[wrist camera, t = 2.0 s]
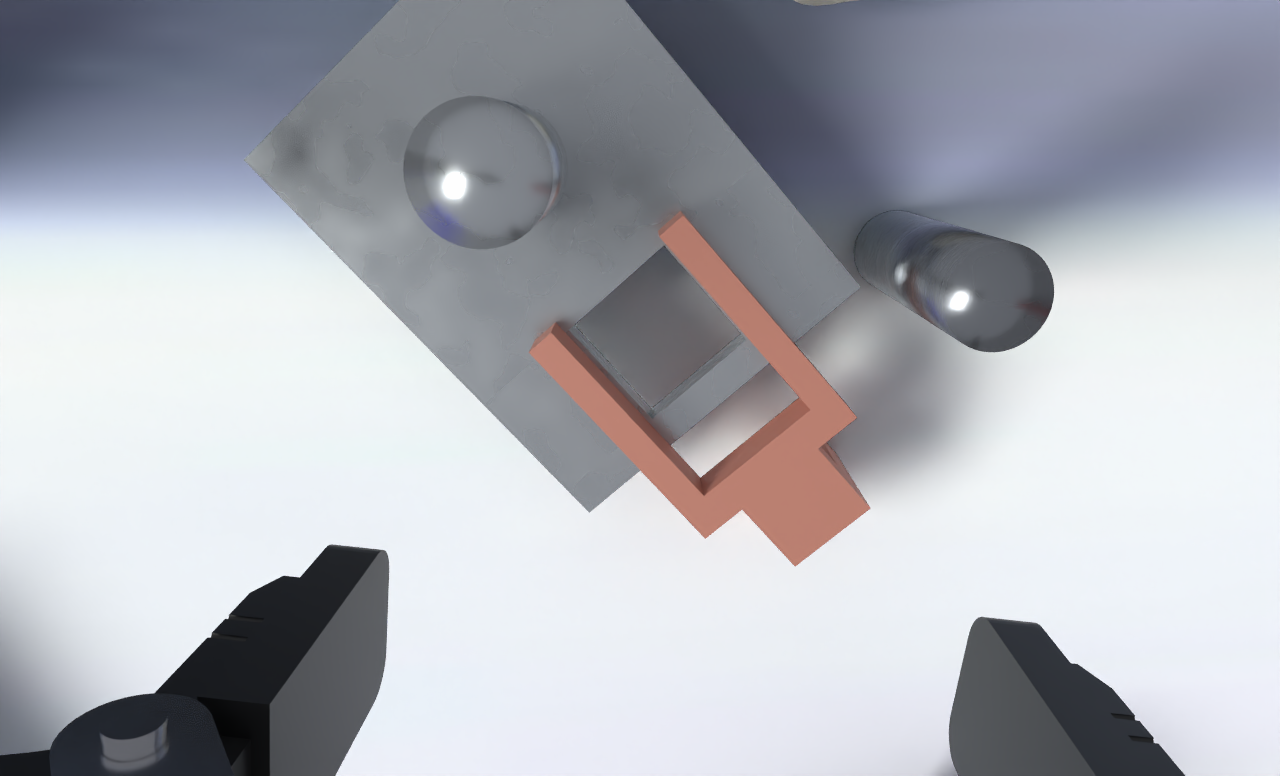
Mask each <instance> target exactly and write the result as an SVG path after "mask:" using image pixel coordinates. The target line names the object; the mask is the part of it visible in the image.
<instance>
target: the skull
mask: <svg viewBox="0 0 1280 776" xmlns="http://www.w3.org/2000/svg"><path fill="white" fill-rule="evenodd" d="M794 1H796V2H798V3H800V4H804V5H813V6H820V5H831V4H837V3H842V2H848V1H858V0H794Z"/></svg>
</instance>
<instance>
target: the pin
mask: <svg viewBox="0 0 1280 776" xmlns="http://www.w3.org/2000/svg"><path fill="white" fill-rule="evenodd" d="M854 259H855V264H856V267H857V269H858V271H859V273H860V274H861V276H862V277H863V278H864V279H865V280H866V281H867V282H868V283H869V284H871V285H873V286H874V287H876V288H877V289H879V290H880V291H882V292H883V293H885V294H887V295H888V296H890V297H891V298H893V299H894V300H896V301H897V302H899V303H901V304H902V305H904V306H905V307H907V308H908V309H910V310H911V311H913V312H915V313H916V314H918V315H919V316H921V317H922V318H924V319H925V320H927V321H929V322H930V323H932V324H933V325H935V326H936V327H938V328H940V329H941V330H943V331H944V332H946V333H947V334H949V335H950V336H952V337H954V338H955V339H957V340H958V341H960V342H961V343H963V344H965V345H966V346H968V347H970V348H973V349H975V350H979V351H984V352H1000V351H1005V350H1009V349H1012V348H1015V347H1017V346H1019V345H1021V344H1023V343H1024V342H1026V341H1027V340H1029V339H1030V338H1031V337H1032V336H1033V335H1035V334H1036V333H1037V331H1038V330H1039V329H1040V328H1041V327H1042V325H1043V324H1044V322H1045V321H1046V319H1047V317H1048V315H1049V313H1050V310H1051V307H1052V303H1053V298H1054V284H1053V279H1052V275H1051V272H1050V270H1049V268H1048V266H1047V265H1046V263H1045V261H1044V260H1043V259H1042V258H1041V257H1040V256H1039V255H1038V254H1037V253H1036V252H1034V251H1033V250H1031V249H1030V248H1028V247H1025V246H1023V245H1020V244H1017V243H1013V242H1010V241H1006V240H1003V239H1000V238H996V237H993V236H989V235H986V234H982V233H979V232H975V231H972V230H968V229H965V228H962V227H958V226H955V225H951V224H948V223H944V222H941V221H937V220H934V219H930V218H927V217H923V216H920V215H917V214H913V213H910V212H906V211H900V210H894V211H888V212H884V213H881V214H879V215H877V216H875V217H874V218H872V219H871V220H870V221H869V222H868V223H866V224H865V226H864V227H863V228H862V230H861V231H860V233H859V235H858V237H857V239H856V242H855V247H854Z"/></svg>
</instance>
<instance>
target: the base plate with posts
mask: <svg viewBox="0 0 1280 776" xmlns="http://www.w3.org/2000/svg"><path fill="white" fill-rule="evenodd" d="M244 161H245V162H246V163H247V164H248V165H249V166H250V167H251V168H252V169H253V170H254V171H255V172H256V173H257V174H258V175H259V176H260V177H261V178H262V179H263V180H264V181H265V182H266V183H267V184H268V185H269V186H270V187H271V188H272V189H273V190H274V191H275V192H276V193H277V194H278V195H279V196H280V198H281V199H282V200H283V201H284V202H285V203H286V204H287V205H288V206H289V207H290V208H291V209H292V210H293V211H294V212H295V213H296V214H297V215H298V216H299V217H300V218H301V219H302V220H303V221H304V222H305V223H306V224H307V225H308V226H309V227H310V228H311V229H312V230H313V231H314V232H315V233H316V234H317V235H318V236H319V237H320V238H321V239H322V240H323V241H324V242H325V243H326V244H327V245H328V246H329V247H330V249H331V250H332V251H333V252H334V253H335V254H336V255H337V256H338V257H339V258H340V259H341V260H342V261H343V262H344V263H345V264H346V265H347V266H348V267H349V268H350V269H351V270H352V271H353V272H354V273H355V274H356V275H357V276H358V277H359V278H360V279H361V280H362V281H363V282H364V283H365V284H366V285H367V286H368V287H369V288H370V289H371V290H372V291H373V292H374V293H375V294H376V295H377V296H378V297H379V299H380V300H381V301H382V302H383V303H384V304H385V305H386V306H387V307H388V308H389V309H390V310H391V311H392V312H393V313H394V314H395V315H396V316H397V317H398V318H399V319H400V320H401V321H402V322H403V323H404V324H405V325H406V326H407V327H408V328H409V329H410V330H411V331H412V332H413V333H414V334H415V335H416V336H417V337H418V338H419V339H420V340H421V341H422V342H423V343H424V344H425V345H426V346H427V347H428V348H429V350H430V351H431V352H432V353H433V354H434V355H435V356H436V357H437V358H438V359H439V360H440V361H441V362H442V363H443V364H444V365H445V366H446V367H447V368H448V369H449V370H450V371H451V372H452V373H453V374H454V375H455V376H456V377H457V378H458V379H459V380H460V381H461V382H462V383H463V384H464V385H465V386H466V387H467V388H468V389H469V390H470V391H471V392H472V393H473V394H474V395H475V396H476V397H477V398H478V399H479V401H480V402H481V403H482V404H483V405H484V406H485V407H486V408H487V409H488V410H489V411H490V412H491V413H492V414H493V415H494V416H495V417H496V418H497V419H498V420H499V421H500V422H501V423H502V424H503V425H504V426H505V427H506V428H507V429H508V430H509V431H510V432H511V433H512V434H513V435H514V436H515V437H516V438H517V439H518V440H519V441H520V442H521V443H522V444H523V445H524V446H525V447H526V448H527V449H528V450H529V452H530V453H531V454H532V455H533V456H534V457H535V458H536V459H537V460H538V461H539V462H540V463H541V464H542V465H543V466H544V467H545V468H546V469H547V470H548V471H549V472H550V473H551V474H552V475H553V476H554V477H555V478H556V479H557V480H558V481H559V482H560V483H561V484H562V485H563V486H564V487H565V488H566V489H567V490H568V491H569V492H570V493H571V494H572V495H573V496H574V497H575V498H576V499H577V500H578V501H579V503H580V504H581V505H582V506H583V507H584V508H585V509H586V510H587V511H588V512H591V511H592V510H593V509H594V508H595V507H597V506H598V505H599V504H600V503H601V502H603V501H604V500H605V499H606V498H607V497H609V496H610V495H611V494H612V493H613V492H615V491H616V490H617V489H618V488H619V487H621V486H622V485H623V484H624V483H625V482H627V481H628V480H629V479H630V478H632V477H633V476H634V475H635V474H636V473H638V472H639V471H640V469H639V468H638V467H637V466H636V465H635V464H634V463H633V462H632V461H631V460H630V459H629V458H628V457H627V456H626V455H625V454H624V452H623V451H622V450H621V449H620V448H619V447H618V446H617V445H616V444H615V443H614V442H613V441H612V440H611V439H610V438H609V437H608V436H607V435H606V434H605V432H604V431H603V430H602V429H601V428H600V427H599V426H598V425H597V424H596V423H595V422H594V421H593V420H592V419H591V418H590V417H589V416H588V415H587V413H586V412H585V411H584V410H583V409H582V408H581V407H580V406H579V405H578V404H577V403H576V402H575V401H574V400H573V399H572V398H571V397H570V396H569V395H568V393H567V392H566V391H565V390H564V389H563V388H562V387H561V386H560V385H559V384H558V383H557V382H556V381H555V380H554V379H553V378H552V377H551V376H550V374H549V373H548V372H547V371H546V370H545V369H544V368H543V367H542V366H541V365H540V364H539V363H538V362H537V361H536V360H535V359H534V358H533V357H532V356H531V354H530V353H529V351H530V349H531V347H532V345H533V343H534V341H535V340H536V339H537V338H538V337H539V336H540V335H542V334H543V333H544V332H545V331H546V330H547V329H548V328H549V327H551V326H552V325H553V324H554V323H555V322H556V323H557V324H558V325H559V326H560V327H561V329H562V330H563V331H564V332H565V333H566V334H567V335H568V336H569V337H570V338H571V339H572V340H573V341H574V343H575V344H576V345H577V346H578V347H579V348H580V349H581V350H582V351H583V352H584V353H585V354H586V355H587V356H588V358H589V359H590V360H591V361H592V362H593V363H594V364H595V365H596V366H597V367H598V368H599V369H600V370H601V372H602V373H603V374H604V375H605V376H606V377H607V378H608V379H609V380H610V381H611V382H612V383H613V384H614V386H615V387H616V388H617V389H618V390H619V391H620V392H621V393H622V394H623V395H624V396H625V397H626V398H627V399H628V401H629V402H630V403H631V404H632V405H633V406H634V407H635V408H636V409H637V410H638V411H639V412H640V413H641V415H642V416H643V417H644V418H645V419H646V420H647V421H648V422H649V423H650V424H651V425H652V426H653V427H654V428H655V430H656V431H657V432H658V433H659V434H660V435H661V436H662V437H663V438H664V439H665V440H666V441H667V442H668V444H669V445H671V444H673V443H674V442H675V441H676V440H677V439H679V438H680V437H681V436H682V435H683V434H685V433H686V432H687V431H688V430H689V429H691V428H692V427H693V426H694V425H695V424H697V423H698V422H699V421H700V420H701V419H703V418H704V417H705V416H706V415H707V414H709V413H710V412H711V411H712V410H714V409H715V408H716V407H717V406H718V405H720V404H721V403H722V402H723V401H724V400H726V399H727V398H728V397H729V396H730V395H732V394H733V393H734V392H735V391H736V390H738V389H739V388H740V387H741V386H742V385H744V384H745V383H746V382H747V381H748V380H750V379H751V378H752V377H753V376H754V375H756V374H757V373H758V372H759V371H761V370H762V369H763V368H764V367H765V366H767V365H768V364H769V362H768V361H767V360H766V358H765V357H764V356H763V355H762V354H761V353H760V352H759V350H758V349H757V348H756V347H755V346H754V345H753V344H752V342H751V341H750V340H749V339H748V338H747V337H746V336H745V334H744V333H743V332H742V331H741V330H740V329H739V328H738V326H737V325H736V324H735V323H734V322H733V321H732V319H731V318H730V317H729V316H728V315H727V314H726V313H725V311H724V310H723V309H722V308H721V307H720V306H719V305H718V303H717V302H716V301H715V300H714V299H713V298H712V297H711V295H710V294H709V293H708V292H707V291H706V290H705V289H704V287H703V286H702V285H701V284H700V283H699V282H698V281H697V279H696V278H695V277H694V276H693V275H692V274H691V272H690V271H689V270H688V269H687V268H686V267H685V266H684V264H683V263H682V262H681V261H680V260H679V259H678V258H677V256H676V255H675V254H674V253H673V252H672V251H671V250H670V248H669V247H668V246H667V245H666V244H665V243H664V242H663V240H662V239H661V238H660V237H659V234H658V230H660V229H661V228H662V227H663V226H664V225H665V224H666V223H667V222H668V221H670V220H671V219H672V218H673V217H674V216H675V215H676V214H677V213H679V212H680V211H681V212H682V213H683V214H684V215H685V216H686V218H687V219H688V220H689V221H690V222H691V223H692V225H693V226H694V227H695V228H696V229H697V230H698V232H699V233H700V234H701V235H702V236H703V237H704V239H705V240H706V241H707V242H708V243H709V244H710V246H711V247H712V248H713V249H714V250H715V251H716V253H717V254H718V255H719V256H720V257H721V258H722V260H723V261H724V262H725V263H726V264H727V265H728V267H729V268H730V269H731V270H732V271H733V272H734V274H735V275H736V276H737V277H738V278H739V279H740V281H741V282H742V283H743V284H744V285H745V286H746V287H747V289H748V290H749V291H750V292H751V293H752V294H753V296H754V297H755V298H756V299H757V300H758V301H759V303H760V304H761V305H762V306H763V307H764V308H765V310H766V311H767V312H768V313H769V314H770V315H771V317H772V318H773V319H774V320H775V321H776V322H777V324H778V325H779V326H780V327H781V328H782V329H783V331H784V332H785V333H786V334H787V335H788V336H789V338H790V339H791V340H792V341H793V342H795V341H797V340H798V339H799V338H800V337H802V336H803V335H804V334H805V333H806V332H808V331H809V330H810V329H811V328H812V327H814V326H815V325H816V324H817V323H818V322H820V321H821V320H822V319H823V318H824V317H826V316H827V315H828V314H829V313H830V312H832V311H833V310H834V309H835V308H836V307H838V306H839V305H840V304H841V303H842V302H844V301H845V300H846V299H847V298H849V297H850V296H851V295H852V294H853V293H855V292H856V291H857V290H858V289H859V288H861V287H860V285H859V284H858V283H857V282H856V281H855V279H854V278H853V277H852V276H851V274H850V273H849V272H848V271H847V270H846V268H845V267H844V266H843V265H842V264H841V262H840V261H839V260H838V259H837V257H836V256H835V255H834V254H833V253H832V251H831V250H830V249H829V248H828V247H827V245H826V244H825V243H824V242H823V240H822V239H821V238H820V237H819V236H818V234H817V233H816V232H815V231H814V229H813V228H812V227H811V226H810V225H809V223H808V222H807V221H806V220H805V219H804V217H803V216H802V215H801V214H800V212H799V211H798V210H797V209H796V208H795V206H794V205H793V204H792V203H791V201H790V200H789V199H788V198H787V197H786V195H785V194H784V193H783V192H782V191H781V189H780V188H779V187H778V186H777V184H776V183H775V182H774V181H773V180H772V178H771V177H770V176H769V175H768V173H767V172H766V171H765V170H764V169H763V167H762V166H761V165H760V164H759V163H758V161H757V160H756V159H755V158H754V156H753V155H752V154H751V153H750V152H749V150H748V149H747V148H746V147H745V145H744V144H743V143H742V142H741V141H740V139H739V138H738V137H737V136H736V135H735V133H734V132H733V131H732V130H731V128H730V127H729V126H728V125H727V124H726V122H725V121H724V120H723V119H722V118H721V116H720V115H719V114H718V113H717V111H716V110H715V109H714V108H713V107H712V105H711V104H710V103H709V102H708V100H707V99H706V98H705V97H704V96H703V94H702V93H701V92H700V91H699V90H698V88H697V87H696V86H695V85H694V83H693V82H692V81H691V80H690V79H689V77H688V76H687V75H686V74H685V72H684V71H683V70H682V69H681V68H680V66H679V65H678V64H677V63H676V62H675V60H674V59H673V58H672V57H671V55H670V54H669V53H668V52H667V51H666V49H665V48H664V47H663V46H662V44H661V43H660V42H659V41H658V40H657V38H656V37H655V36H654V35H653V34H652V32H651V31H650V30H649V29H648V27H647V26H646V25H645V24H644V23H643V21H642V20H641V19H640V18H639V17H638V15H637V14H636V13H635V12H634V10H633V9H632V8H631V7H630V6H629V4H628V3H627V2H626V1H625V0H399V1H398V2H397V3H396V4H395V5H394V6H393V7H392V8H391V9H390V10H389V11H388V12H387V13H386V14H385V15H384V16H383V17H382V19H381V20H380V21H379V22H378V23H377V24H376V25H375V26H374V27H373V28H372V29H371V30H370V31H369V32H368V33H367V34H366V35H365V36H364V37H363V38H362V39H361V40H360V41H359V42H358V43H357V44H356V45H355V46H354V47H353V48H352V49H351V50H350V51H349V52H348V53H347V54H346V55H345V56H344V57H343V59H342V60H341V61H340V62H339V63H338V64H337V65H336V66H335V67H334V68H333V69H332V70H331V71H330V72H329V73H328V74H327V75H326V76H325V77H324V78H323V79H322V80H321V81H320V82H319V83H318V84H317V85H316V86H315V87H314V88H313V89H312V90H311V91H310V92H309V93H308V94H307V95H306V96H305V97H304V99H303V100H302V101H301V102H300V103H299V104H298V105H297V106H296V107H295V108H294V109H293V110H292V111H291V112H290V113H289V114H288V115H287V116H286V117H285V118H284V119H283V120H282V121H281V122H280V123H279V124H278V125H277V126H276V127H275V128H274V129H273V130H272V131H271V132H270V133H269V134H268V135H267V136H266V138H265V139H264V140H263V141H262V142H261V143H260V144H259V145H258V146H257V147H256V148H255V149H254V150H253V151H252V152H251V153H250V154H249V155H248V156H247V157H246V158H245V159H244ZM663 246H665V247H666V248H667V250H668V251H669V252H670V253H671V254H672V255H673V256H674V258H675V259H676V260H677V261H678V262H679V263H680V264H681V266H682V267H683V268H684V269H685V270H686V271H687V273H688V274H689V275H690V276H691V277H692V278H693V279H694V281H695V282H696V283H697V284H698V285H699V286H700V287H701V289H702V290H703V291H704V292H705V293H706V294H707V295H708V297H709V298H710V299H711V300H712V301H713V302H714V303H715V305H716V306H717V307H718V308H719V309H720V310H721V311H722V313H723V314H724V315H725V316H726V317H727V318H728V319H729V321H730V322H731V323H732V324H733V325H734V326H735V327H736V329H737V330H738V331H739V332H740V333H741V334H739V335H738V336H737V337H736V338H735V339H734V340H732V341H731V342H730V343H729V344H728V345H726V346H725V347H724V348H723V349H722V350H720V351H719V352H718V353H717V354H716V355H715V356H713V357H712V358H711V359H710V360H709V361H707V362H706V363H705V364H704V365H703V366H702V367H700V368H699V369H698V370H697V371H696V372H694V373H693V374H692V375H691V376H690V377H688V378H687V379H686V380H685V381H684V382H683V383H681V384H680V385H679V386H678V387H677V388H675V389H674V390H673V391H672V392H671V393H670V394H668V395H667V396H666V397H665V398H664V399H662V400H661V401H660V402H659V403H658V404H656V405H655V406H654V407H653V408H652V409H651V407H650V406H649V405H648V404H647V403H646V402H645V401H644V400H643V399H642V398H641V397H640V396H639V395H638V393H637V392H636V391H635V390H634V389H633V388H632V387H631V386H630V385H629V384H628V383H627V382H626V380H625V379H624V378H623V377H622V376H621V375H620V374H619V373H618V372H617V371H616V370H615V369H614V368H613V366H612V365H611V364H610V363H609V362H608V361H607V360H606V359H605V358H604V357H603V356H602V355H601V353H600V352H599V351H598V350H597V349H596V348H595V347H594V346H593V345H592V344H591V343H590V342H589V340H588V339H587V338H586V337H585V336H584V335H583V334H582V333H581V332H580V331H579V330H578V329H577V328H576V326H575V324H576V323H577V322H578V321H579V320H580V319H582V318H583V317H584V316H585V315H586V314H587V313H588V312H589V311H591V310H592V309H593V308H594V307H595V306H596V305H597V304H599V303H600V302H601V301H602V300H603V299H604V298H605V297H606V296H608V295H609V294H610V293H611V292H612V291H613V290H614V289H615V288H617V287H618V286H619V285H620V284H621V283H622V282H623V281H625V280H626V279H627V278H628V277H629V276H630V275H631V274H632V273H634V272H635V271H636V270H637V269H638V268H639V267H640V266H641V265H643V264H644V263H645V262H646V261H647V260H648V259H649V258H650V257H652V256H653V255H654V254H655V253H656V252H657V251H658V250H660V249H661V248H662V247H663Z"/></svg>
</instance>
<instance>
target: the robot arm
mask: <svg viewBox="0 0 1280 776" xmlns="http://www.w3.org/2000/svg"><path fill="white" fill-rule="evenodd" d="M388 586H389V560H388V555H387V553H386V551H385V550H377V549H368V548H359V547H350V546H341V545H329V546H327V547H326V548H325V549H324V551H323V552H322V553H321V554H320V555H319V556H318V557H317V559H316V560H315V561H314V562H313V563H312V564H311V566H310V567H309V568H308V569H307V570H306V571H305V572H304V574H303V575H302V576H301V577H300V578H299V577H289V576H282V577H280V578H278V579H276V580H274V581H272V582H270V583H268V584H266V585H264V586H263V587H261V588H259V589H257V590H255V591H253V592H251V593H249V594H248V596H247V597H246V598H245V599H244V600H243V601H242V602H241V603H240V604H239V605H238V606H237V607H236V608H235V609H234V610H233V611H232V612H231V613H230V614H229V619H225V620H224V621H223V622H222V623H221V624H220V625H219V626H218V627H217V628H216V629H215V630H214V631H213V632H212V636H211V638H207V639H206V640H205V641H204V642H203V643H202V644H201V645H200V646H199V647H198V648H197V649H196V650H195V651H194V652H193V653H192V654H191V655H190V657H189V658H188V659H187V660H186V661H185V662H184V663H183V664H182V665H181V666H180V667H179V668H178V669H177V670H176V671H175V672H174V673H173V674H172V675H171V676H170V678H169V679H168V680H167V681H166V682H165V683H164V684H163V685H162V686H161V687H160V688H159V689H158V690H157V691H156V692H155V693H154V694H143V695H136V696H131V697H126V698H122V699H118V700H115V701H111V702H109V703H106V704H103V705H101V706H98V707H96V708H94V709H92V710H90V711H88V712H86V713H84V714H83V715H81V716H79V717H78V718H76V719H75V720H73V721H72V722H71V723H69V724H68V725H67V726H66V727H65V728H64V729H63V730H62V731H61V732H60V733H59V734H58V735H57V737H56V738H55V740H54V741H53V743H52V746H51V748H50V750H45V751H38V752H29V753H20V754H10V755H0V776H335V775H336V773H337V771H338V769H339V767H340V766H341V764H342V762H343V760H344V758H345V756H346V754H347V752H348V751H349V749H350V747H351V745H352V743H353V741H354V739H355V737H356V736H357V734H358V732H359V730H360V728H361V726H362V724H363V722H364V721H365V719H366V717H367V715H368V713H369V711H370V709H371V707H372V706H373V704H374V702H375V700H376V697H377V695H378V692H379V689H380V685H381V681H382V677H383V672H384V667H385V659H386V642H387V614H388ZM949 744H950V752H951V757H952V761H953V764H954V767H955V769H956V771H957V773H958V775H959V776H1185V775H1184V774H1183V773H1182V771H1181V770H1180V769H1179V768H1178V767H1177V765H1176V764H1175V763H1174V762H1173V761H1172V759H1171V758H1170V757H1169V756H1168V755H1167V753H1166V752H1165V751H1164V750H1163V749H1162V747H1161V746H1160V745H1159V744H1156V743H1154V742H1153V737H1152V736H1151V734H1150V733H1149V732H1148V731H1147V730H1146V728H1145V727H1144V726H1143V725H1142V724H1141V722H1140V721H1135V715H1134V714H1133V713H1132V712H1131V710H1130V709H1129V708H1128V707H1127V706H1126V705H1125V703H1124V702H1123V701H1122V700H1121V699H1120V697H1119V696H1118V695H1117V694H1116V693H1115V691H1114V690H1113V689H1112V688H1110V687H1109V686H1108V685H1106V684H1105V683H1103V682H1102V681H1101V680H1099V679H1098V678H1096V677H1095V676H1093V675H1092V674H1091V673H1089V672H1088V671H1086V670H1085V669H1084V668H1082V667H1081V666H1079V665H1078V664H1071V663H1070V662H1069V661H1068V659H1067V658H1066V657H1065V656H1064V654H1063V653H1062V652H1061V651H1060V649H1059V648H1058V647H1057V646H1056V644H1055V643H1054V642H1053V641H1052V639H1051V638H1050V637H1049V636H1048V634H1047V633H1046V632H1045V631H1044V629H1043V628H1042V627H1041V626H1040V625H1039V624H1037V623H1032V622H1023V621H1014V620H1004V619H995V618H986V617H979V618H978V619H976V620H975V622H974V623H973V625H972V627H971V630H970V633H969V636H968V641H967V645H966V650H965V654H964V658H963V663H962V667H961V672H960V676H959V681H958V685H957V690H956V694H955V698H954V703H953V707H952V712H951V717H950V724H949Z"/></svg>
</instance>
